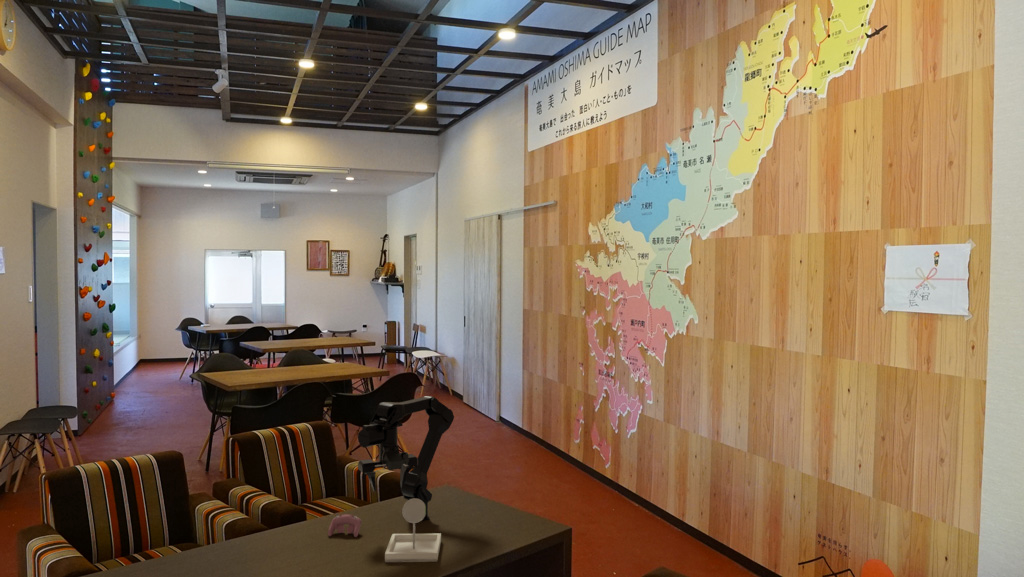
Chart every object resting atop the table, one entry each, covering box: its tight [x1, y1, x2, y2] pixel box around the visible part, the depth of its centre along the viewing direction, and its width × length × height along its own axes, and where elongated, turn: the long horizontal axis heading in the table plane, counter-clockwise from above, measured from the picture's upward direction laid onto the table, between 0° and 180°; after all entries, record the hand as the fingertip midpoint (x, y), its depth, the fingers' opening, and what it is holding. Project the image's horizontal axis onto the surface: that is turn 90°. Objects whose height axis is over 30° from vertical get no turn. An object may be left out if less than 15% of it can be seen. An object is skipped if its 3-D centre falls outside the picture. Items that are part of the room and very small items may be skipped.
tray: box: [384, 532, 442, 563], centre depth 200 cm, size 15×15×2 cm
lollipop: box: [401, 498, 426, 549], centre depth 200 cm, size 7×7×15 cm
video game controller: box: [327, 514, 362, 538], centre depth 214 cm, size 10×5×7 cm, turn 85°
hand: (388, 489), depth 218 cm, fingers open, 9 cm apart
